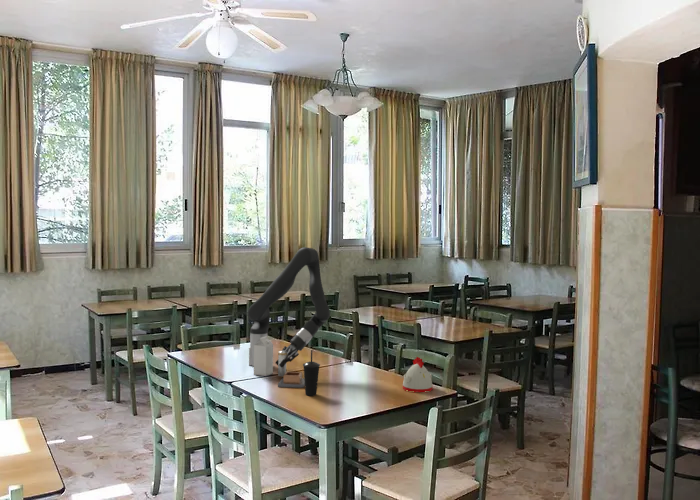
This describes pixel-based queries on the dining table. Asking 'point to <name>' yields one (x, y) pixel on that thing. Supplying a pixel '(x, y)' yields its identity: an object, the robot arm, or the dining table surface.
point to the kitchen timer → (417, 378)
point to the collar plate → (292, 380)
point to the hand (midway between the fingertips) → (278, 365)
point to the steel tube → (280, 357)
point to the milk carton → (263, 357)
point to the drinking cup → (311, 377)
